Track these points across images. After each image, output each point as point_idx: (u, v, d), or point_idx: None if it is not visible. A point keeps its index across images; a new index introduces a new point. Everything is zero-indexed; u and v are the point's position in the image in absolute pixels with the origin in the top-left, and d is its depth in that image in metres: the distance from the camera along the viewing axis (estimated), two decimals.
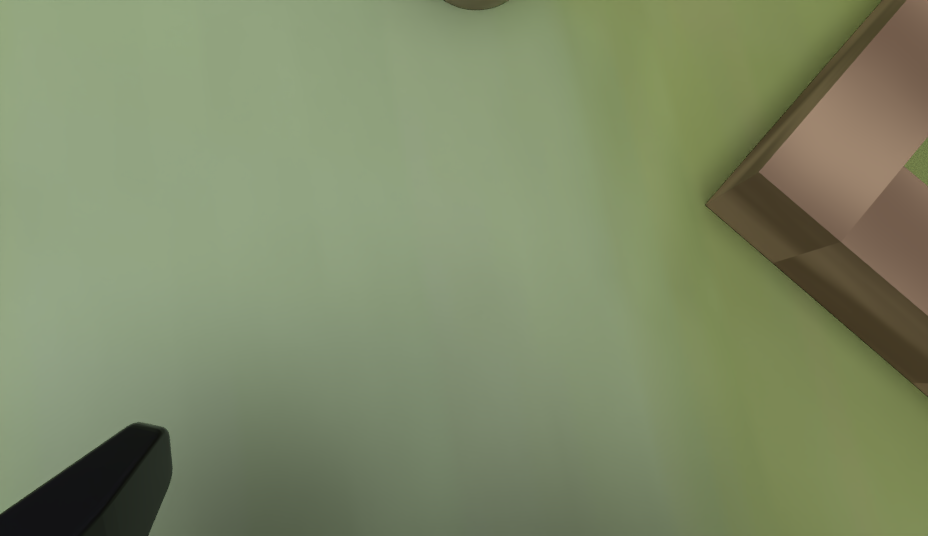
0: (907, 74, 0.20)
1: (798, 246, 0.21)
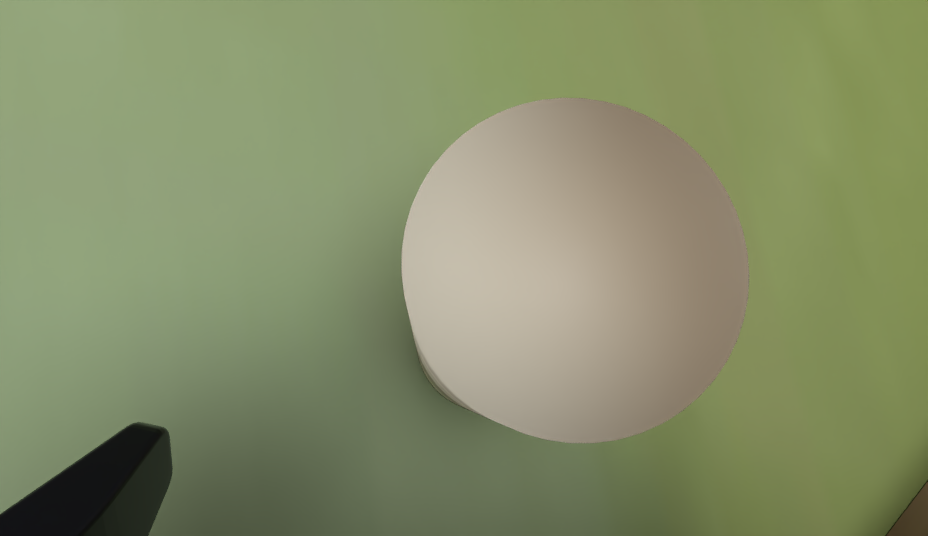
0: None
1: None
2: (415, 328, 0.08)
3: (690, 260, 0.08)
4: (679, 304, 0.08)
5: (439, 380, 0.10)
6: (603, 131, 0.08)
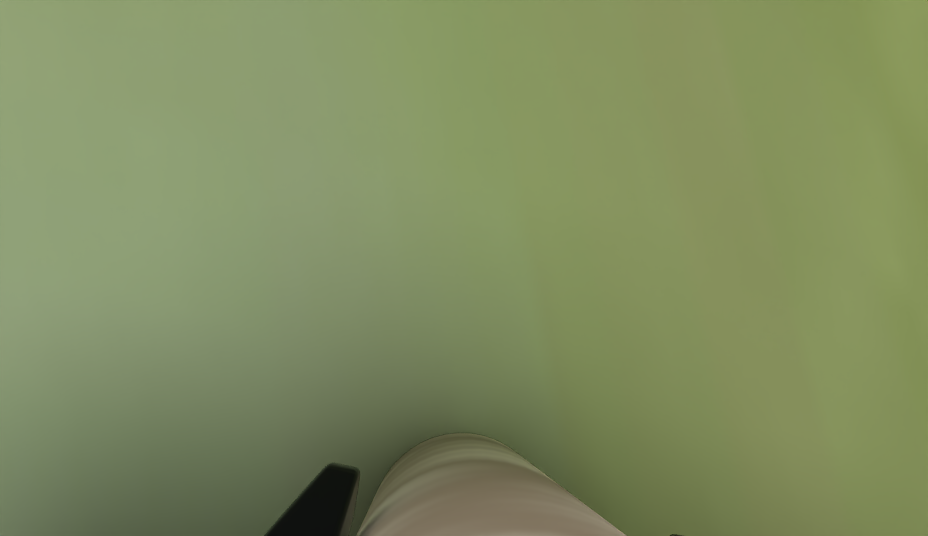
0: None
1: None
2: None
3: None
4: None
5: None
6: None
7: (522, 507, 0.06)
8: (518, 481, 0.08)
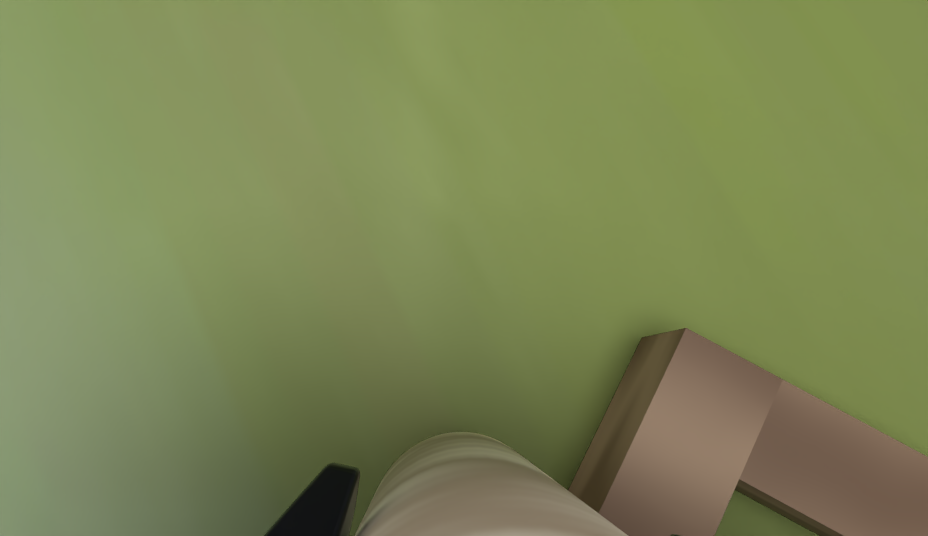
0: None
1: None
2: None
3: None
4: None
5: None
6: None
7: (520, 504, 0.06)
8: (516, 479, 0.08)
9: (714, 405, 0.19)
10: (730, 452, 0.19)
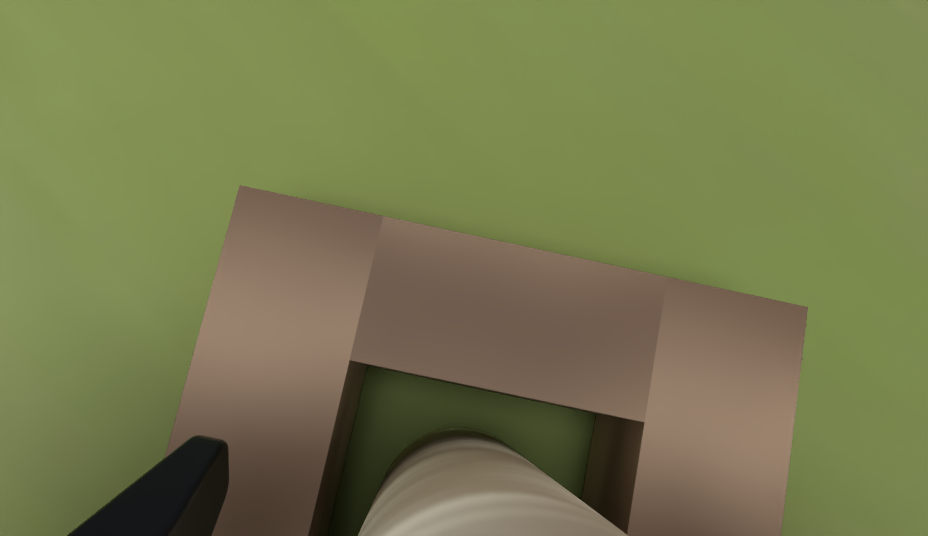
0: None
1: None
2: None
3: None
4: None
5: None
6: None
7: (500, 478, 0.08)
8: (501, 462, 0.10)
9: (297, 273, 0.14)
10: (331, 329, 0.14)
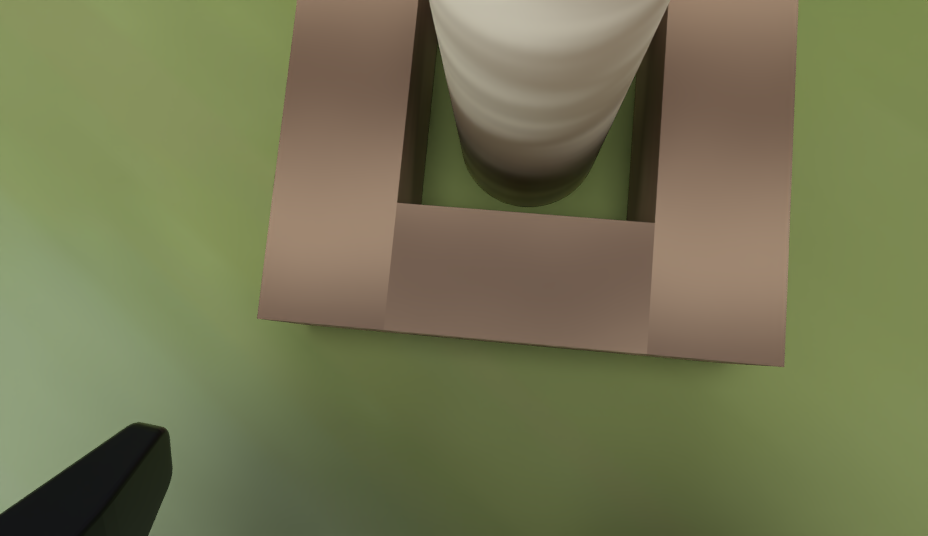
0: (341, 104, 0.17)
1: None
2: None
3: None
4: None
5: (461, 35, 0.10)
6: None
7: None
8: None
9: None
10: None
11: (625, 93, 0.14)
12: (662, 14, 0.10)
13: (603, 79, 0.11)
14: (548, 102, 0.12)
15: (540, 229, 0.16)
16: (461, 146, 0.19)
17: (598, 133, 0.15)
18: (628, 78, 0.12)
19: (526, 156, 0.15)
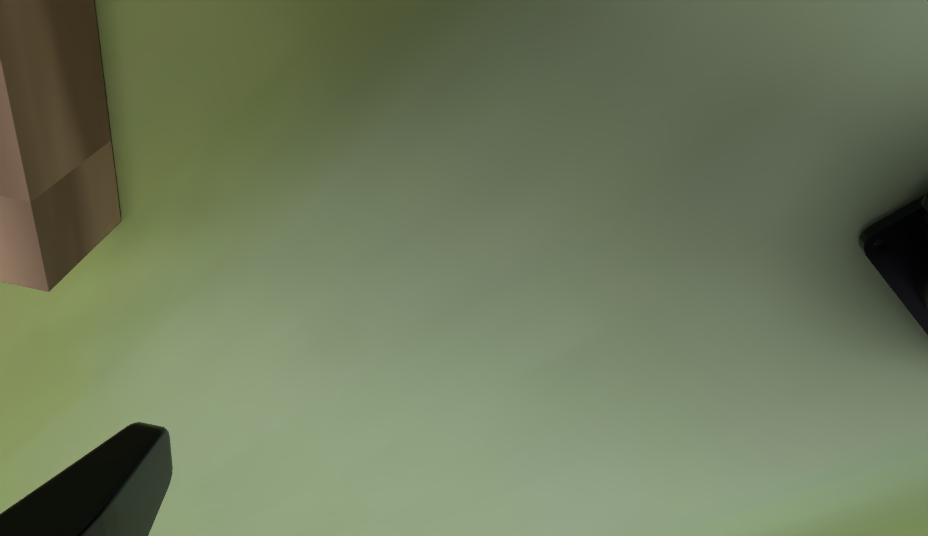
0: None
1: (72, 180, 0.20)
2: None
3: None
4: None
5: None
6: None
7: None
8: None
9: None
10: None
11: None
12: None
13: None
14: None
15: None
16: None
17: None
18: None
19: None
